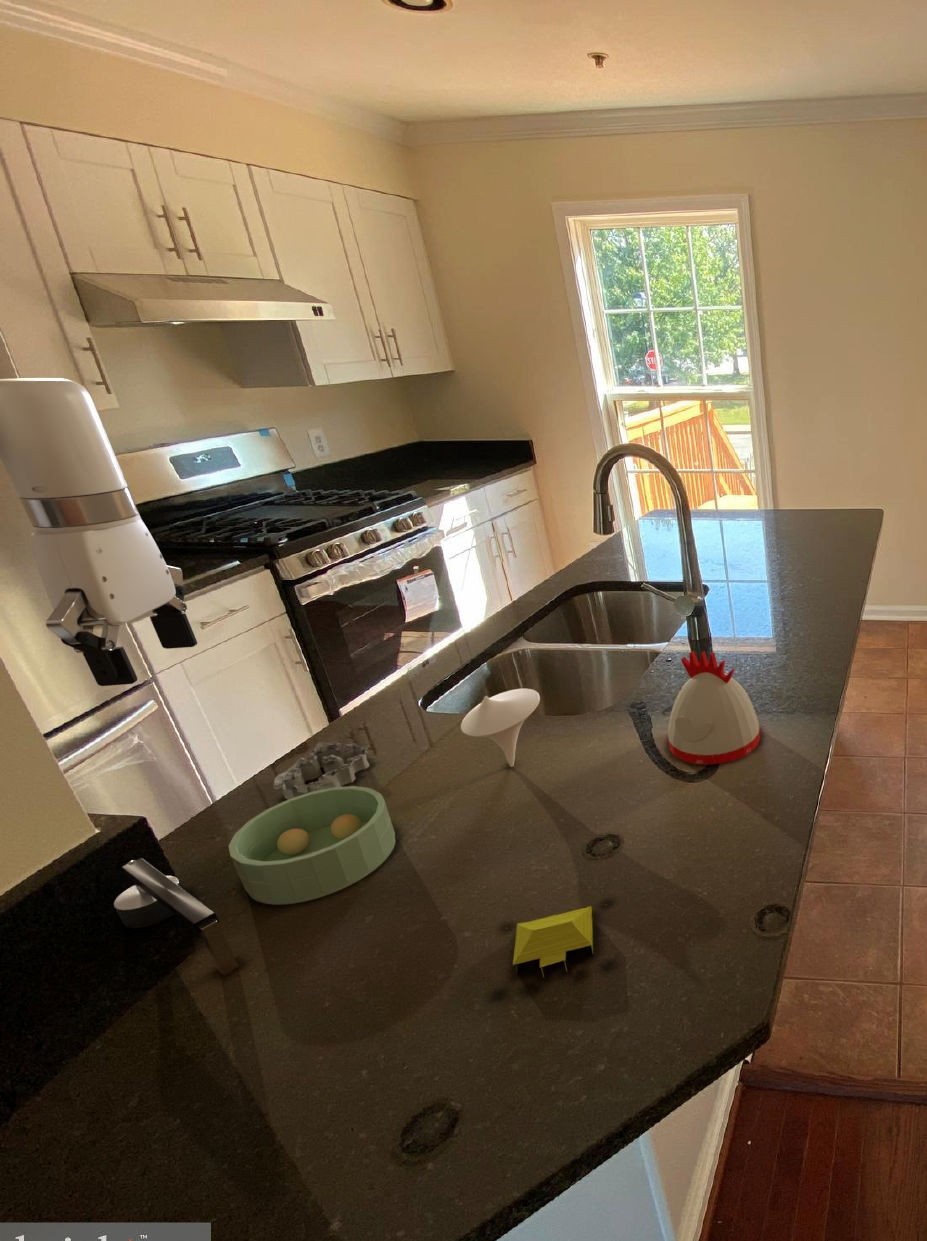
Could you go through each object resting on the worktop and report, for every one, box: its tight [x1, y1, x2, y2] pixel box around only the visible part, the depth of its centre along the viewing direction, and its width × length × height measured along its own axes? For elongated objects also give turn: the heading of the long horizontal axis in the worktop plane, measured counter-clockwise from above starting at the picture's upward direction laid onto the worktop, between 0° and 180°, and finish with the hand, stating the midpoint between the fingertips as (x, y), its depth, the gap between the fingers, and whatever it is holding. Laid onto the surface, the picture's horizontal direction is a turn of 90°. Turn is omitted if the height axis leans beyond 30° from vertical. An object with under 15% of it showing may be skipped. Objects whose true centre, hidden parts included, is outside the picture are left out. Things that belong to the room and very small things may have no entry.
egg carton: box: [273, 741, 370, 800], centre depth 96 cm, size 11×8×4 cm
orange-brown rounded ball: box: [277, 828, 310, 855], centre depth 82 cm, size 3×3×3 cm
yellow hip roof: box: [497, 903, 608, 998], centre depth 70 cm, size 10×9×3 cm
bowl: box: [228, 785, 397, 906], centre depth 81 cm, size 14×14×6 cm
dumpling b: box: [331, 814, 361, 839], centre depth 85 cm, size 3×3×3 cm
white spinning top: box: [460, 688, 541, 768], centre depth 99 cm, size 10×11×12 cm
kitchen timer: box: [667, 650, 761, 766], centre depth 105 cm, size 14×14×15 cm
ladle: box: [113, 857, 239, 976], centre depth 70 cm, size 19×5×7 cm, turn 62°
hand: (151, 664), depth 76 cm, fingers open, 9 cm apart
